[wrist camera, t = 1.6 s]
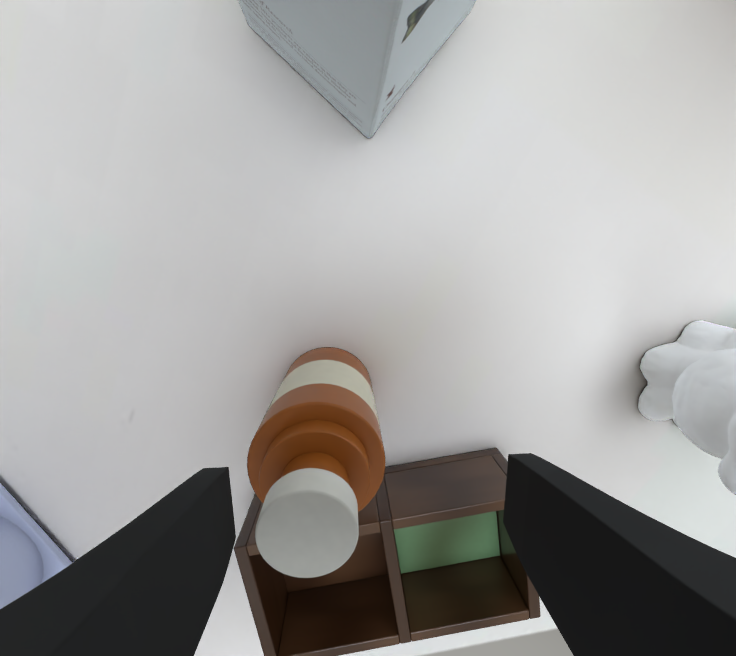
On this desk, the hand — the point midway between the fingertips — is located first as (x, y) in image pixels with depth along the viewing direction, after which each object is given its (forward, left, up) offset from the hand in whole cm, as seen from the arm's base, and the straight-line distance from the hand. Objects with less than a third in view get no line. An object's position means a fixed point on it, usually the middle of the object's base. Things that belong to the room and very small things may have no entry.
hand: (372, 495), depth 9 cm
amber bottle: (-2, 0, -10) cm, 10 cm away
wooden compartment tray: (-3, -10, -10) cm, 14 cm away
